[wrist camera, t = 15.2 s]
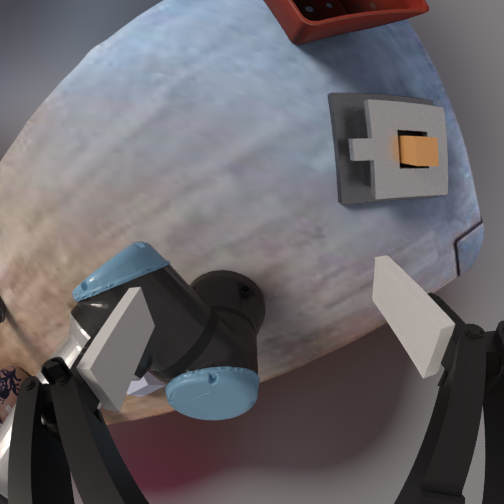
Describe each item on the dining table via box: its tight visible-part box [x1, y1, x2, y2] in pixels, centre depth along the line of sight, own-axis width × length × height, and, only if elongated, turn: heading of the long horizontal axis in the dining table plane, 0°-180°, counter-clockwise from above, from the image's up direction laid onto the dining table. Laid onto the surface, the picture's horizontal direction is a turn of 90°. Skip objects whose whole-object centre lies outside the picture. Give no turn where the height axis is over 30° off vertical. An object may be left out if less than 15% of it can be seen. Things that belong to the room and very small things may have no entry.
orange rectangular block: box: [398, 136, 439, 166], centre depth 33 cm, size 4×4×10 cm
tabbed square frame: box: [328, 93, 448, 205], centre depth 36 cm, size 18×20×8 cm
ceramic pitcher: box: [0, 366, 29, 427], centre depth 53 cm, size 18×21×25 cm
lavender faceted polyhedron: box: [127, 371, 166, 396], centre depth 55 cm, size 9×7×13 cm
